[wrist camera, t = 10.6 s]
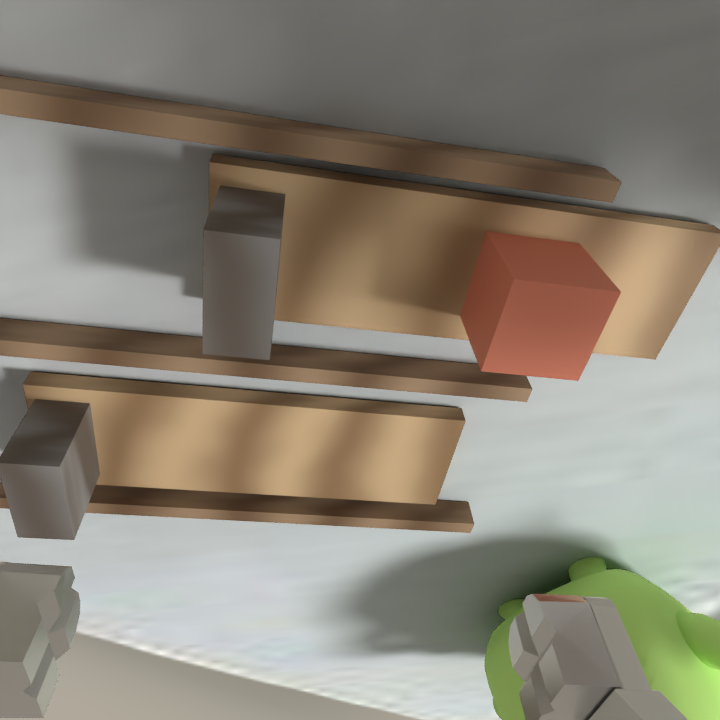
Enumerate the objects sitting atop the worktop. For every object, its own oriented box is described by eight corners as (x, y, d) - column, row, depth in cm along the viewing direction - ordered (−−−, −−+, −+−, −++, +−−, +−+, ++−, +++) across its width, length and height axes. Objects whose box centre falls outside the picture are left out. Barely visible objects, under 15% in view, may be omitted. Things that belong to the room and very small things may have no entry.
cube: (579, 243, 30) (621, 292, 26) (545, 325, 32) (578, 380, 28) (486, 231, 29) (514, 278, 25) (460, 315, 32) (481, 371, 28)
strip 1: (461, 408, 37) (484, 481, 32) (432, 491, 42) (448, 566, 37) (31, 371, 34) (-19, 448, 29) (51, 467, 38) (11, 547, 33)
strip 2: (713, 225, 31) (790, 281, 26) (646, 347, 35) (700, 415, 30) (213, 153, 27) (189, 203, 22) (210, 301, 32) (191, 370, 27)
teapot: (564, 690, 63) (628, 883, 50) (428, 628, 53) (464, 845, 41) (788, 583, 53) (939, 790, 40) (669, 483, 43) (818, 711, 31)
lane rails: (604, 168, 29) (621, 182, 27) (464, 510, 44) (470, 532, 42) (-110, 58, 24) (-140, 67, 22) (8, 484, 39) (-5, 507, 37)
